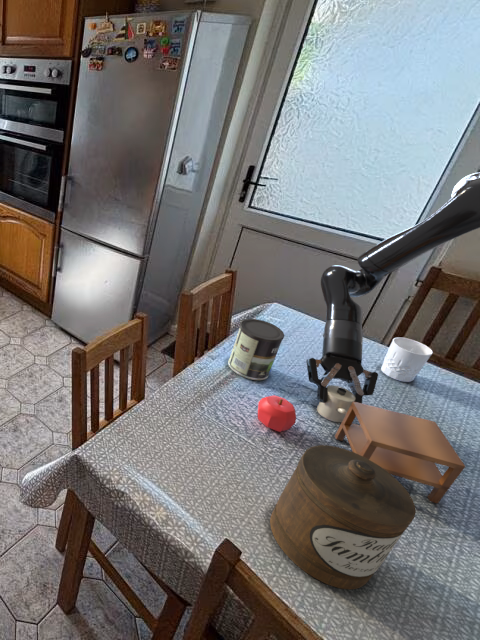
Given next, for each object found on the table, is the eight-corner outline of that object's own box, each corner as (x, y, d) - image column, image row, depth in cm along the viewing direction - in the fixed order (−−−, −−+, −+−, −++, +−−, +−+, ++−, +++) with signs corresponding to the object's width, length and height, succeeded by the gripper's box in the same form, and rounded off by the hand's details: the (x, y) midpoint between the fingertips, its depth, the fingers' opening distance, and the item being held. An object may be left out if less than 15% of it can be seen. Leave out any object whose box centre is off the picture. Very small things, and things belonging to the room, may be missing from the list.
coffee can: (271, 367, 121) (287, 327, 115) (264, 386, 114) (281, 345, 108) (232, 352, 127) (245, 314, 121) (223, 369, 120) (236, 329, 114)
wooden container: (314, 595, 70) (367, 514, 60) (251, 509, 83) (287, 432, 73) (393, 585, 71) (458, 504, 61) (319, 502, 84) (362, 425, 75)
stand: (411, 457, 93) (435, 421, 88) (437, 503, 84) (465, 466, 79) (334, 435, 99) (352, 401, 94) (350, 477, 89) (371, 440, 84)
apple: (260, 406, 107) (270, 383, 104) (296, 426, 102) (307, 402, 98) (247, 420, 103) (256, 396, 100) (283, 442, 97) (294, 417, 94)
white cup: (380, 376, 117) (395, 348, 112) (375, 361, 123) (390, 334, 118) (418, 387, 113) (436, 359, 108) (412, 371, 118) (428, 343, 114)
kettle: (314, 402, 108) (325, 379, 105) (340, 409, 106) (353, 386, 103) (322, 424, 102) (334, 400, 98) (350, 432, 100) (364, 408, 96)
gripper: (314, 330, 106) (309, 396, 101) (387, 345, 100) (385, 415, 95) (302, 336, 112) (297, 398, 108) (370, 350, 107) (367, 416, 102)
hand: (338, 406), depth 102 cm, fingers closed on kettle, 5 cm apart
